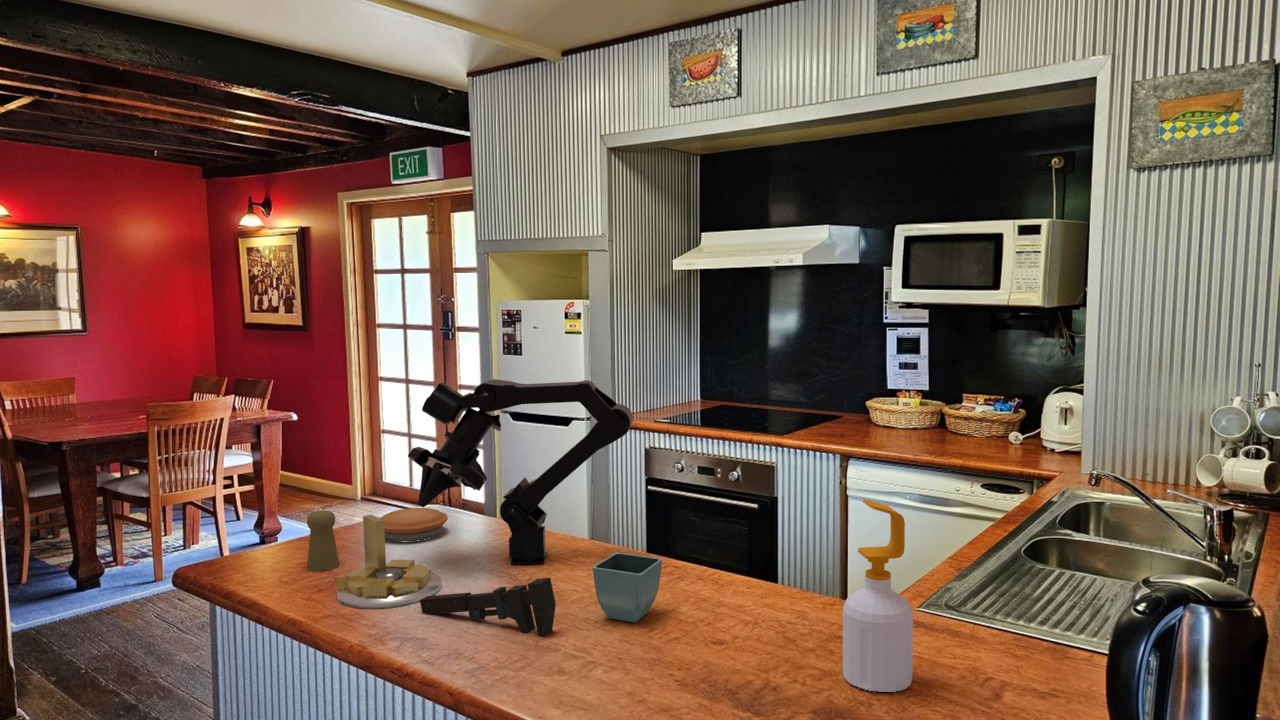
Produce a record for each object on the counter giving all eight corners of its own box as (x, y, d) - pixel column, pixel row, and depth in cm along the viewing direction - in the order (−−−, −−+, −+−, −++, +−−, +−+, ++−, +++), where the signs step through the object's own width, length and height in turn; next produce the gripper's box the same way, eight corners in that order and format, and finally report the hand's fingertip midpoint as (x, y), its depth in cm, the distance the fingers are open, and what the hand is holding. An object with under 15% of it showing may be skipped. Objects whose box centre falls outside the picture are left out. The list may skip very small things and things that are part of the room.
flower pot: (664, 610, 144) (663, 557, 143) (641, 630, 136) (640, 574, 135) (616, 603, 147) (615, 551, 146) (592, 621, 139) (591, 567, 138)
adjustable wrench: (437, 637, 146) (561, 630, 135) (426, 643, 144) (552, 636, 133) (427, 588, 146) (550, 577, 135) (416, 593, 144) (540, 583, 133)
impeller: (450, 572, 164) (450, 555, 164) (428, 608, 146) (427, 589, 146) (356, 574, 164) (355, 557, 164) (321, 609, 146) (320, 590, 146)
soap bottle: (834, 666, 122) (834, 494, 119) (897, 663, 122) (898, 492, 120) (855, 696, 113) (856, 511, 111) (923, 692, 113) (925, 509, 111)
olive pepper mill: (345, 561, 172) (342, 507, 171) (331, 572, 166) (328, 515, 165) (315, 561, 172) (313, 507, 172) (301, 571, 166) (298, 515, 166)
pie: (457, 525, 197) (456, 504, 197) (435, 546, 182) (434, 523, 181) (392, 525, 199) (391, 503, 198) (364, 545, 183) (363, 522, 183)
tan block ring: (443, 582, 154) (441, 525, 153) (367, 602, 145) (365, 541, 144) (404, 562, 166) (402, 508, 165) (332, 578, 157) (329, 522, 156)
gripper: (520, 467, 167) (476, 538, 162) (465, 450, 180) (422, 514, 175) (484, 437, 160) (436, 509, 155) (429, 420, 173) (384, 487, 168)
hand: (420, 505), depth 163 cm, fingers closed
